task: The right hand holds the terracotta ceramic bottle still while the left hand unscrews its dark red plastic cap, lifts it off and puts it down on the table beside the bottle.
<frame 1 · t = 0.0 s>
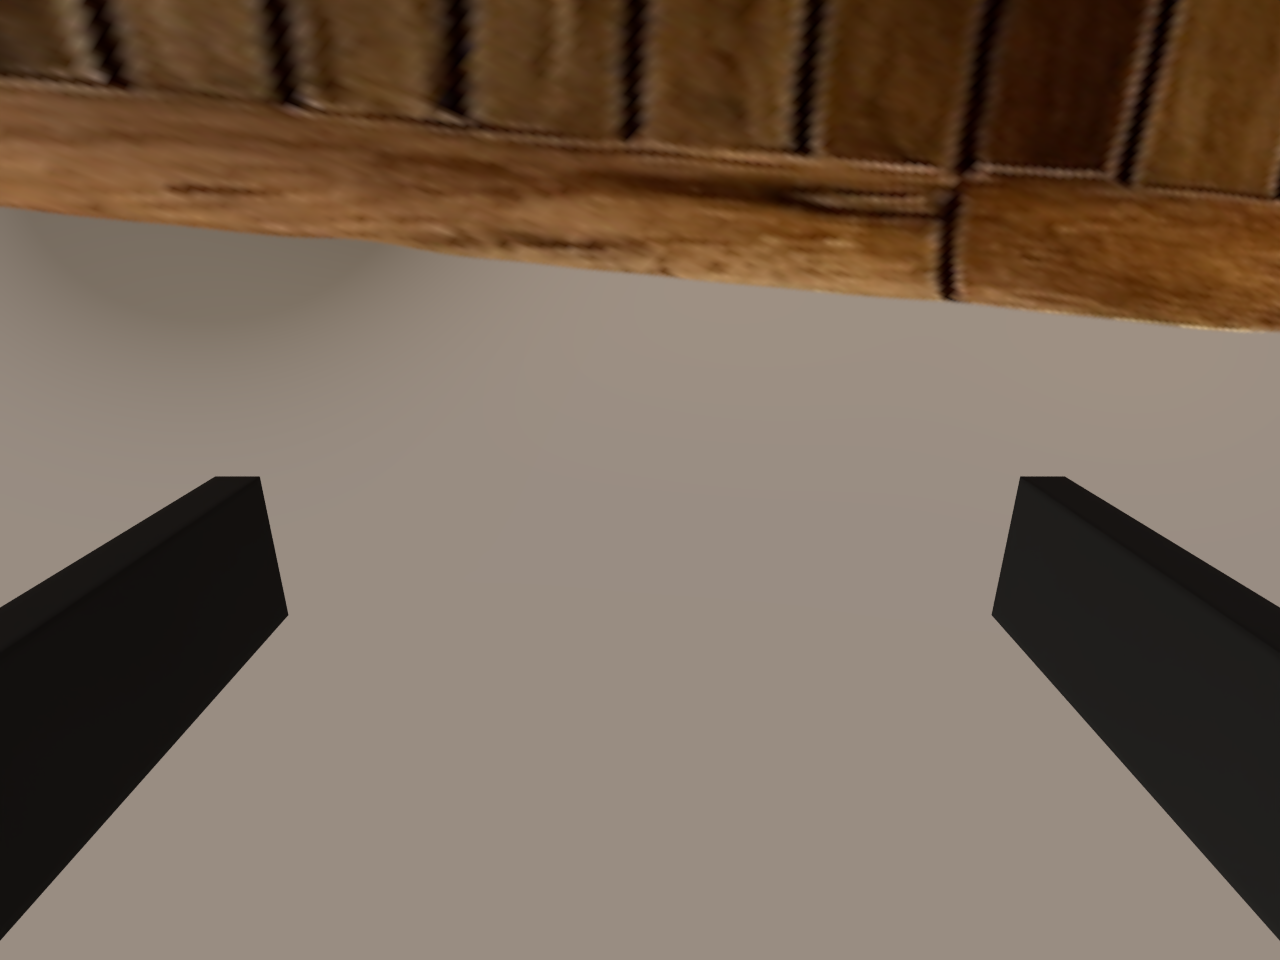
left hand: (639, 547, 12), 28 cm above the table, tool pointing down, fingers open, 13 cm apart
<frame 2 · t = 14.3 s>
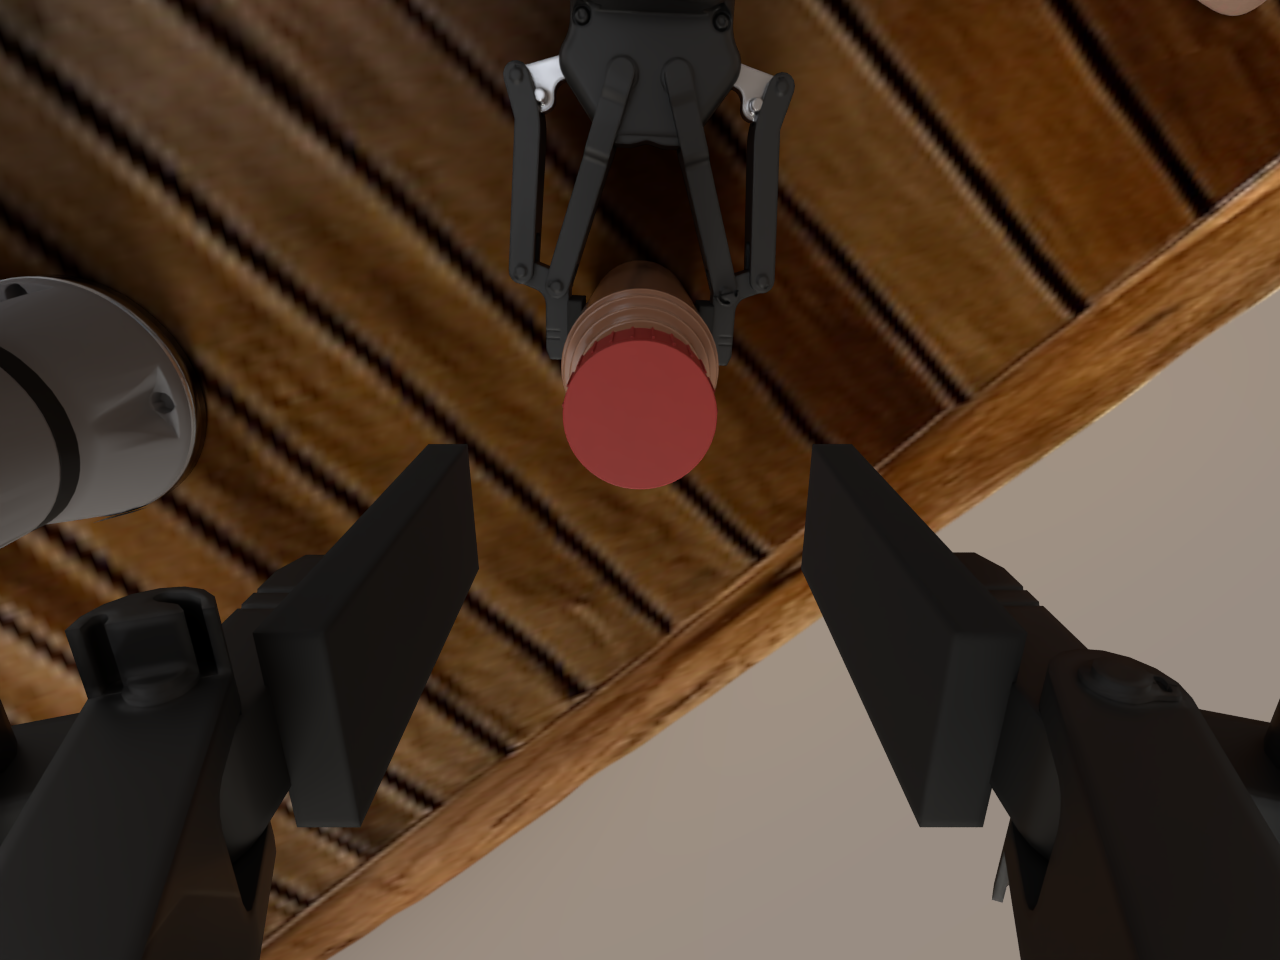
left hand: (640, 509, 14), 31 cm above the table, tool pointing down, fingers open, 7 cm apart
right hand: (636, 418, 39), fingers closed on bottle, 6 cm apart
bottle: (639, 311, 43), on the table, touching right hand
cap: (639, 415, 20), point 24 cm above the table, screwed on, not yet turned
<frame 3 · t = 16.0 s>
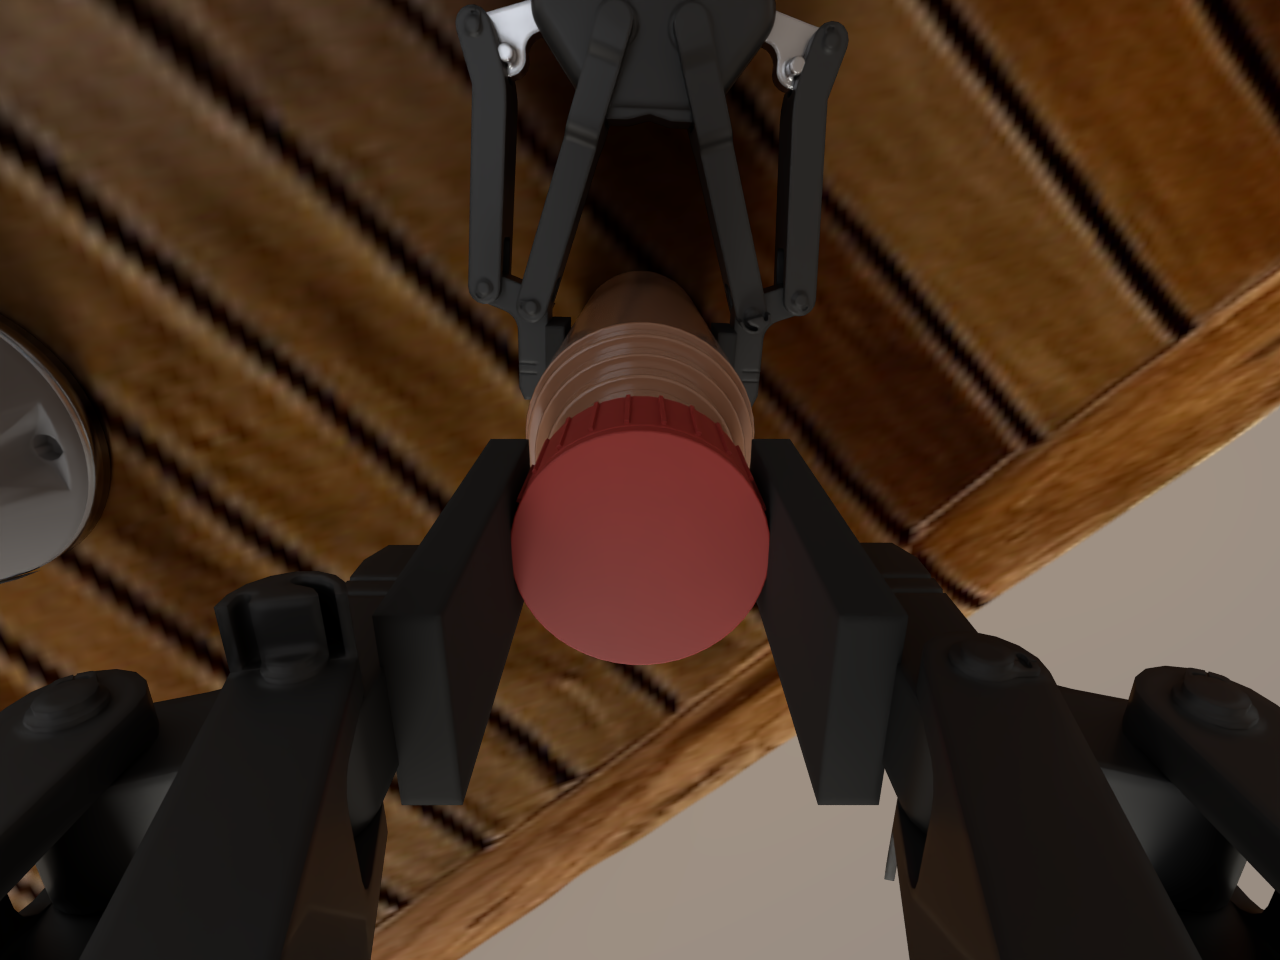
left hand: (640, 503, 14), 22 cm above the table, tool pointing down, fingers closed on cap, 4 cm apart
right hand: (635, 472, 31), fingers closed on bottle, 6 cm apart
bottle: (640, 333, 35), on the table, touching right hand
cap: (640, 548, 12), point 24 cm above the table, screwed on, not yet turned, touching left hand
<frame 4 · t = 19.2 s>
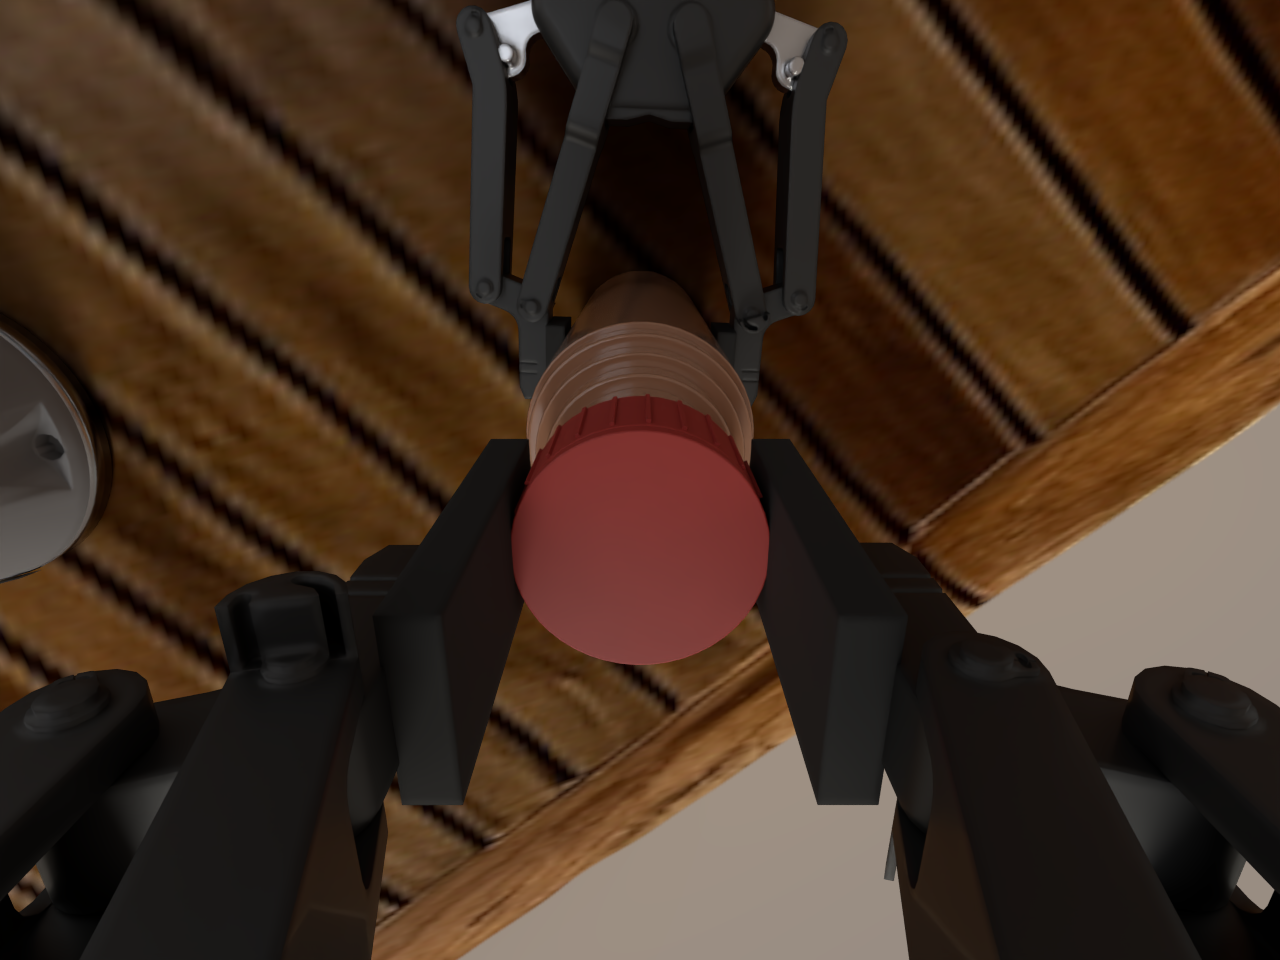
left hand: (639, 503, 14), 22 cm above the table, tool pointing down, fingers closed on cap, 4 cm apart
right hand: (635, 472, 31), fingers closed on bottle, 6 cm apart
bottle: (639, 332, 35), on the table, touching right hand
cap: (640, 547, 12), point 24 cm above the table, turned 85° so far, risen 0.1 cm, still on its thread, touching left hand
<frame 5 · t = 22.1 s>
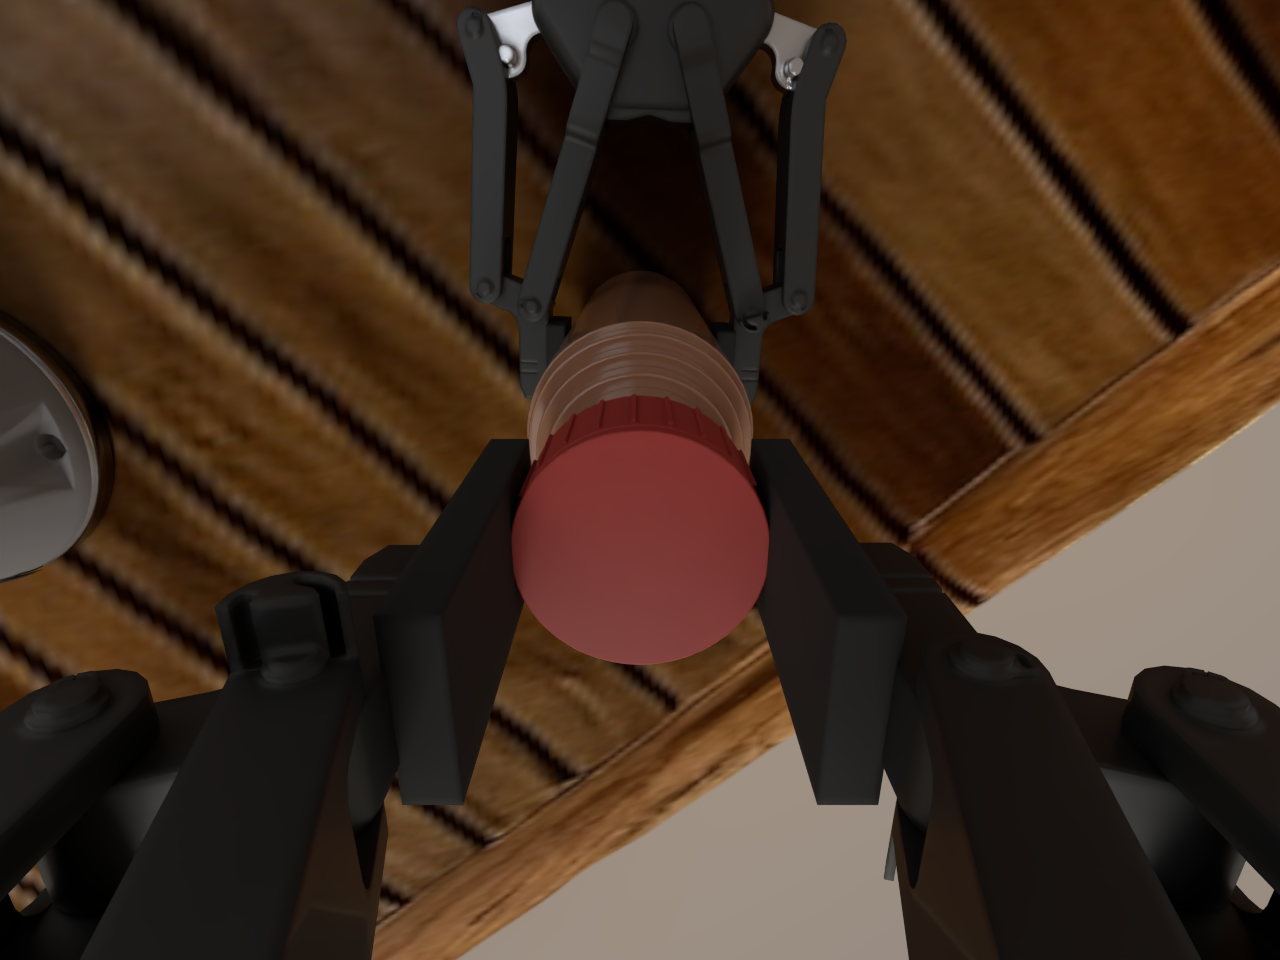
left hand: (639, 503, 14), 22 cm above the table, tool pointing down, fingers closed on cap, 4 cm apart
right hand: (635, 471, 31), fingers closed on bottle, 6 cm apart
bottle: (639, 332, 35), on the table, touching right hand
cap: (640, 547, 12), point 24 cm above the table, turned 169° so far, risen 0.2 cm, still on its thread, touching left hand
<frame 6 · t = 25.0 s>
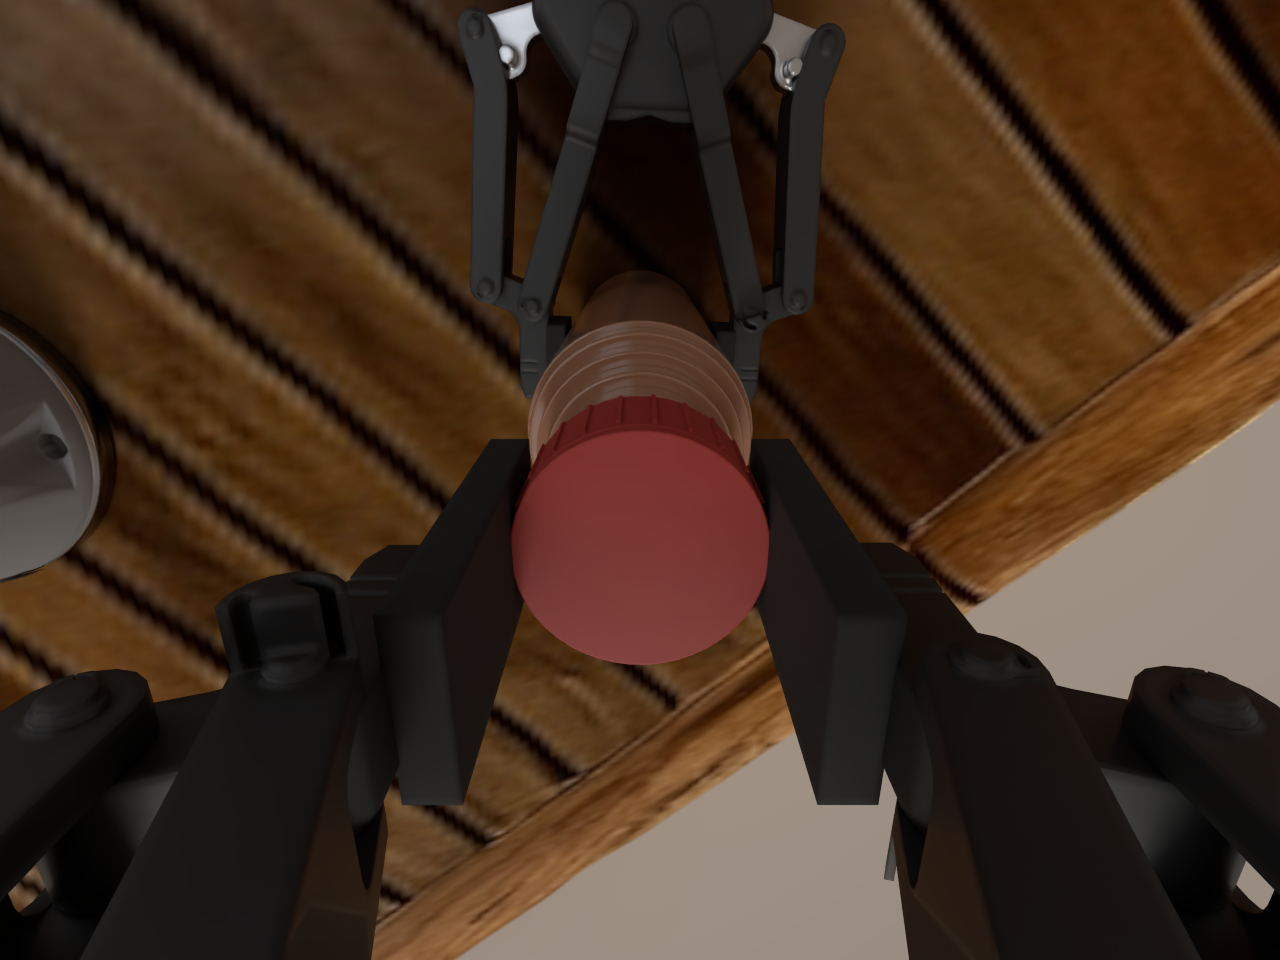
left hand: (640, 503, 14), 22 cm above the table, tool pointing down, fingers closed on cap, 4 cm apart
right hand: (635, 470, 31), fingers closed on bottle, 6 cm apart
bottle: (639, 332, 35), on the table, touching right hand
cap: (640, 547, 12), point 25 cm above the table, turned 254° so far, risen 0.3 cm, still on its thread, touching left hand
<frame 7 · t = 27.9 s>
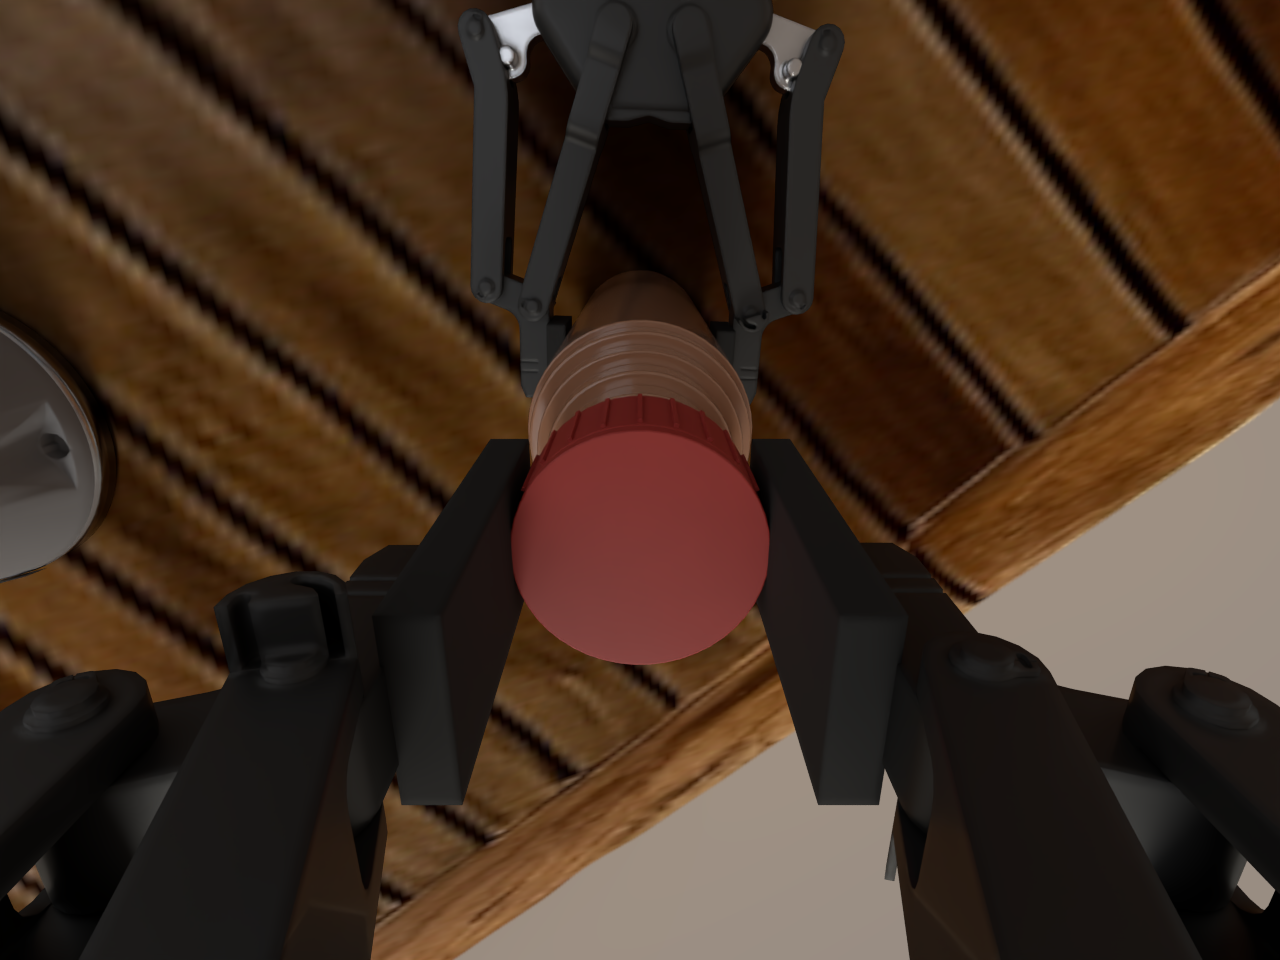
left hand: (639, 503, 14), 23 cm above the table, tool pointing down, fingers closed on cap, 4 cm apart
right hand: (635, 469, 31), fingers closed on bottle, 6 cm apart
bottle: (639, 331, 35), on the table, touching right hand
cap: (640, 547, 12), point 25 cm above the table, turned 339° so far, risen 0.4 cm, still on its thread, touching left hand
when the left hand's fingers open (1 cm above the table, at t = 35.2 s): cap stays where it is, point 2 cm above the table.
when the right hand's fingers open (7 cm above the table, at t = 36.4 s): bottle stays where it is, on the table.
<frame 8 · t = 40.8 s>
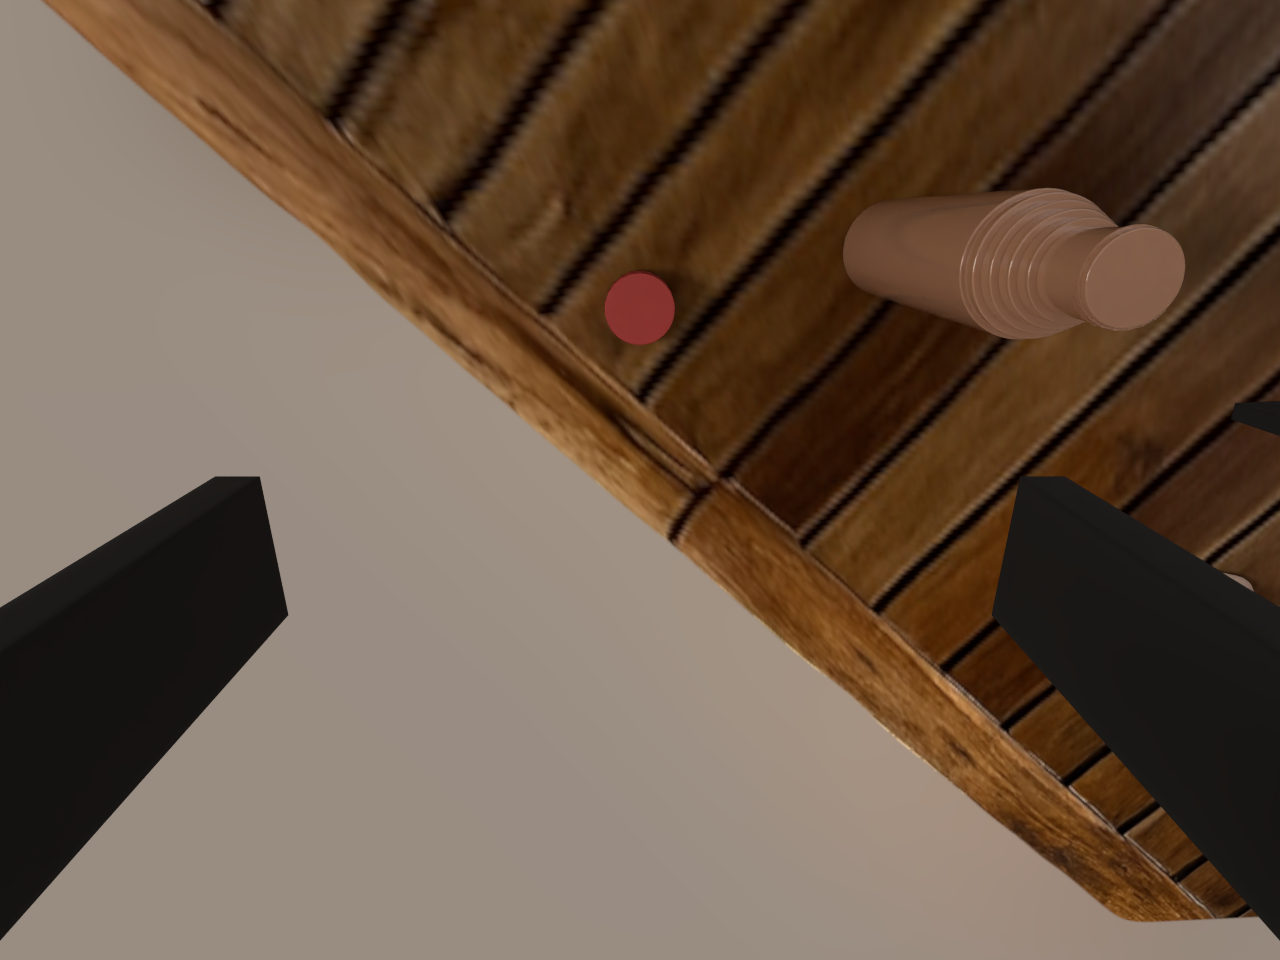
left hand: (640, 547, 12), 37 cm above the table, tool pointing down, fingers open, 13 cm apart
bottle: (888, 248, 45), on the table
cap: (639, 309, 45), point 2 cm above the table, off its thread
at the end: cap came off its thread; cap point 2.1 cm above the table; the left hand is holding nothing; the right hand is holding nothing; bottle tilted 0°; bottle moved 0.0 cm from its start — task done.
